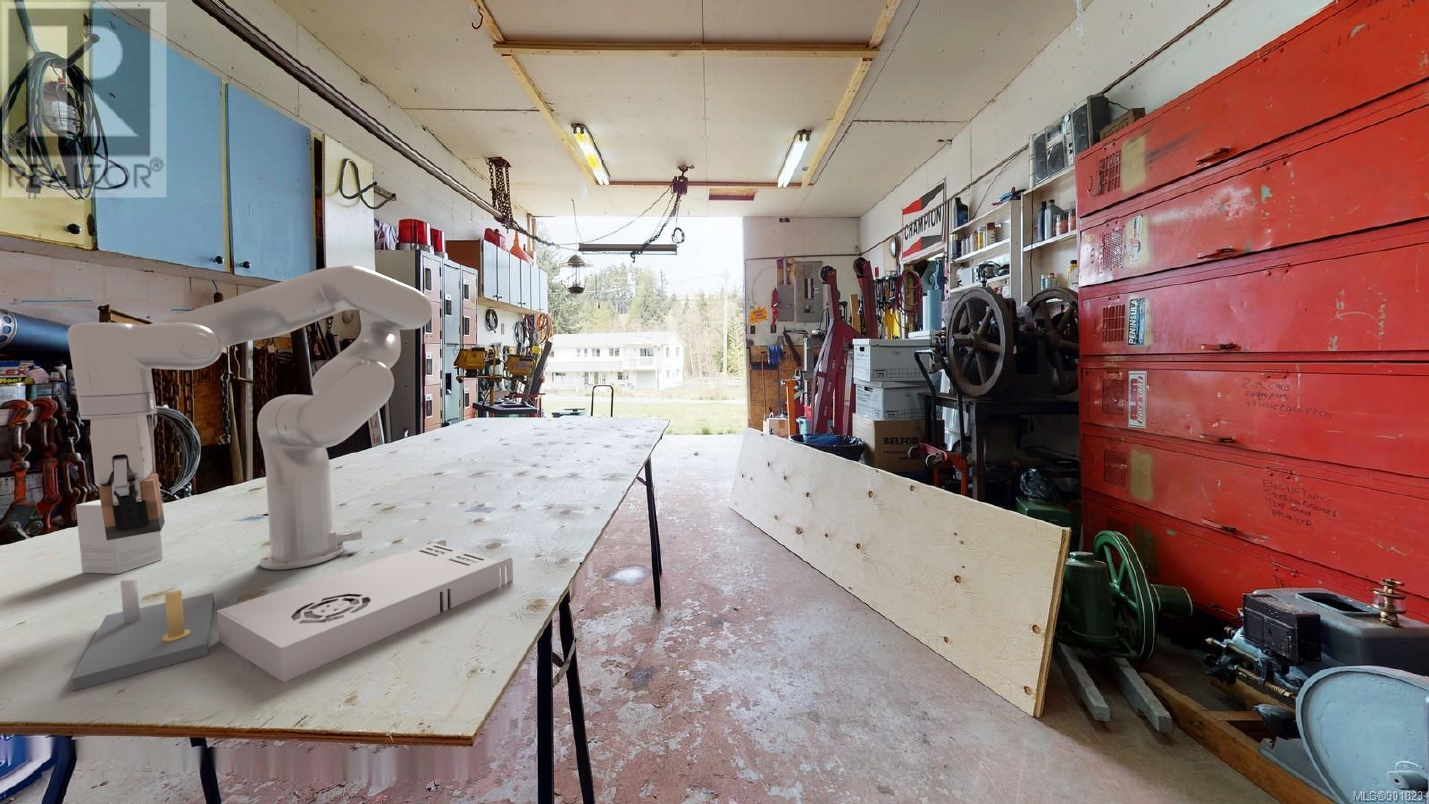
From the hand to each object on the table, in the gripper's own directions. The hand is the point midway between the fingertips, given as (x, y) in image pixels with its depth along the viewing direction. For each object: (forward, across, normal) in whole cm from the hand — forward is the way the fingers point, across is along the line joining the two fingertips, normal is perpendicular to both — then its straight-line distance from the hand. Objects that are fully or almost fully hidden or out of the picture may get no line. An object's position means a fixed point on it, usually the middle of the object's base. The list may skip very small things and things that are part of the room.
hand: (136, 522), depth 79 cm
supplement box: (+14, -25, -6) cm, 29 cm away
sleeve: (+1, 0, 0) cm, 1 cm away
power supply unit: (+15, +25, +27) cm, 40 cm away
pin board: (+13, +16, +2) cm, 20 cm away
